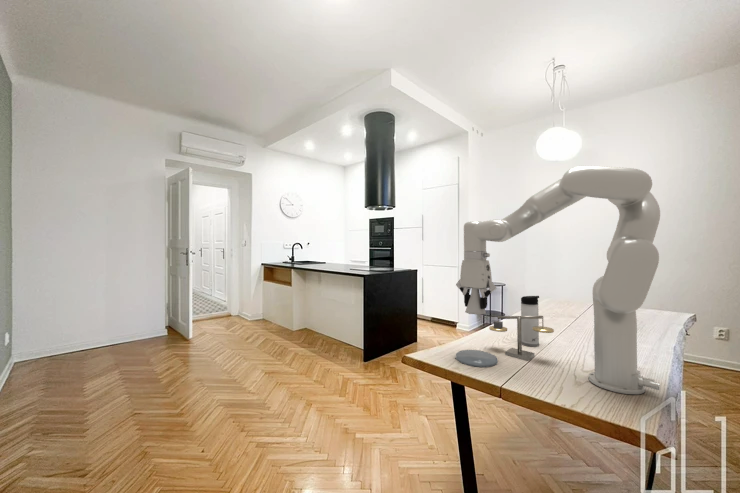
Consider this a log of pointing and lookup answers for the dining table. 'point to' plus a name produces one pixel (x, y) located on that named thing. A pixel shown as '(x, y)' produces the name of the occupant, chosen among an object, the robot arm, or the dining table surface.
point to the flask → (474, 303)
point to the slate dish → (476, 358)
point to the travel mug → (529, 321)
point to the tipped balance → (519, 335)
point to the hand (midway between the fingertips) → (475, 306)
